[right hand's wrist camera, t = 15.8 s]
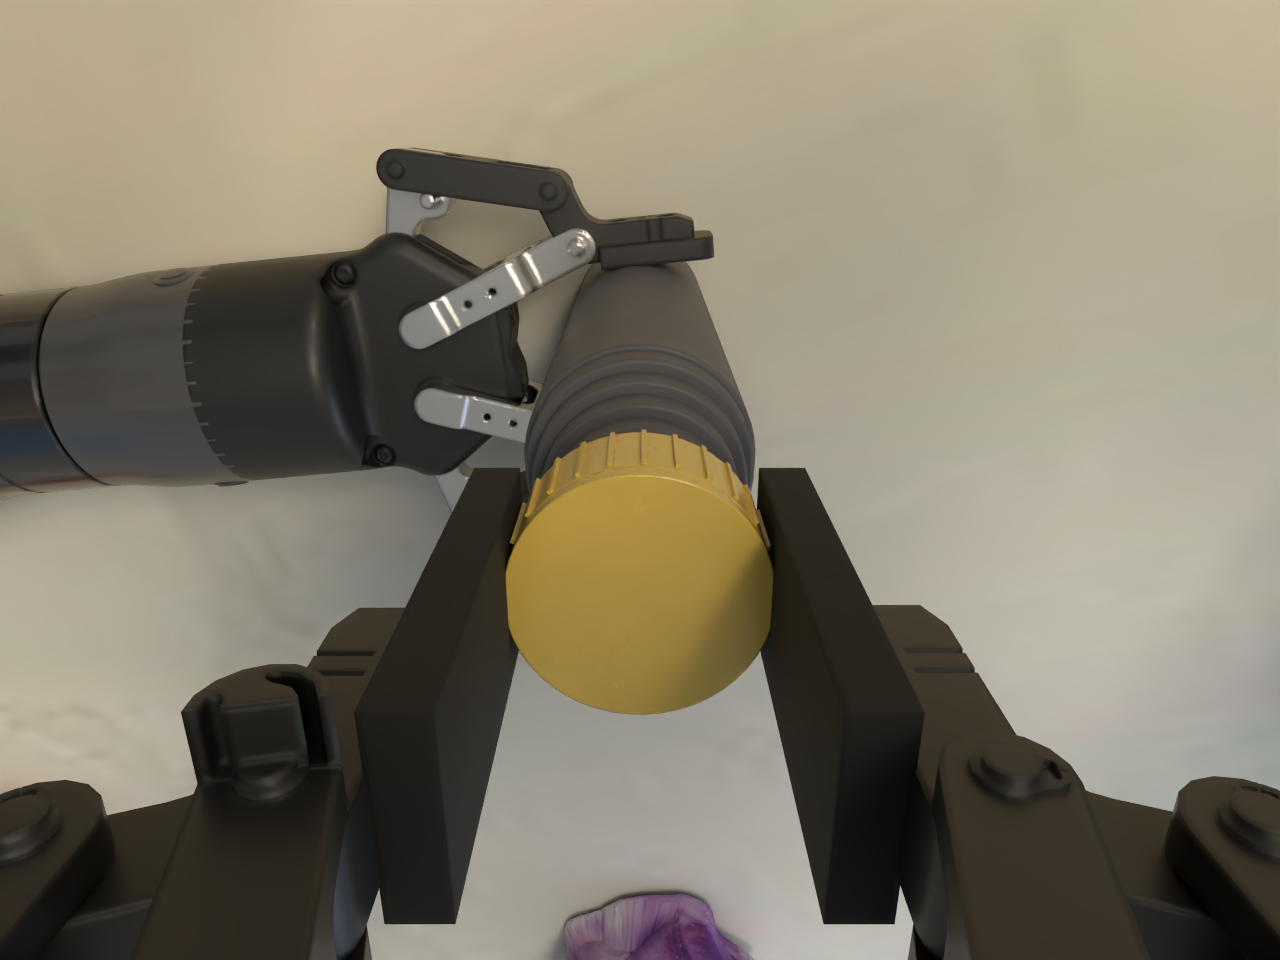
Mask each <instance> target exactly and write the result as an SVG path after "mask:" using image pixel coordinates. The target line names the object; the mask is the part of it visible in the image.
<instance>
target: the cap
mask: <svg viewBox="0 0 1280 960" xmlns="http://www.w3.org/2000/svg"><path fill="white" fill-rule="evenodd" d="M510 543H512V544H513V546H512V550H511V553H510V556H509V559H508V563H507V567H506V591H507V606H508V622H509V630H510V633H511V636H512V638H513V640H514V642H515V644H516V646H517V647H518V649H519V651H520V653H521V654H522V656H523V657H524V658H525V660H526V661H527V663H528V664H529V665H530V666H531V667H532V668H533V669H534V671H535V672H536V673H537V674H538V675H539V676H540V677H541V678H543V679H544V680H545V681H546V682H547V683H548V684H550V685H551V686H552V687H554V688H555V689H557V690H558V691H560V692H561V693H563V694H564V695H566V696H568V697H570V698H572V699H574V700H576V701H578V702H580V703H583V704H586V705H588V706H591V707H594V708H597V709H601V710H605V711H610V712H615V713H623V714H656V713H665V712H669V711H674V710H679V709H682V708H685V707H688V706H691V705H694V704H697V703H699V702H701V701H703V700H706V699H708V698H710V697H712V696H713V695H715V694H717V693H718V692H720V691H721V690H723V689H725V688H726V687H727V686H728V685H730V684H731V683H732V682H734V681H735V680H736V679H737V678H738V677H739V676H740V675H741V674H742V673H743V672H744V671H745V670H746V669H747V668H748V667H749V666H750V664H751V663H752V662H753V660H754V659H755V658H756V656H757V655H758V653H759V652H760V650H761V648H762V646H763V645H764V643H765V641H766V639H767V636H768V634H769V631H770V622H771V607H772V591H773V573H774V572H773V565H772V561H771V558H770V555H769V551H770V543H769V539H768V536H767V533H766V530H765V527H764V524H763V520H762V517H761V514H760V511H759V509H758V510H756V509H755V505H754V502H753V499H752V496H751V492H750V489H749V487H748V485H747V484H745V485H743V484H742V483H741V481H740V480H739V479H738V477H737V476H736V475H735V474H734V473H733V471H732V468H731V465H730V464H729V463H728V462H726V463H723V462H722V461H721V460H719V459H718V458H717V457H715V456H714V455H713V454H712V453H710V452H708V451H707V448H706V447H705V446H704V445H701V447H699V446H698V445H695V444H693V443H690V442H688V441H685V440H683V439H680V438H678V435H676V434H672V436H669V435H663V434H656V433H647V430H641V433H640V432H633V433H623V434H616V435H615V432H612V433H610V436H607V437H603V438H600V439H597V440H594V441H592V442H589V443H586V442H585V441H584V442H582V443H580V447H579V448H577V449H575V450H573V451H571V452H570V453H568V454H567V455H566V456H564V457H563V458H561V459H560V458H559V457H557V458H556V459H555V461H554V465H553V466H552V467H551V468H550V469H549V470H548V471H547V472H546V473H545V474H544V476H543V477H542V478H541V479H539V478H537V479H536V480H535V482H534V485H533V489H532V492H531V495H530V496H529V499H528V501H527V503H524V502H523V503H522V506H521V509H520V512H519V515H518V518H517V521H516V524H515V527H514V531H513V534H512V537H511V540H510Z"/></svg>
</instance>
